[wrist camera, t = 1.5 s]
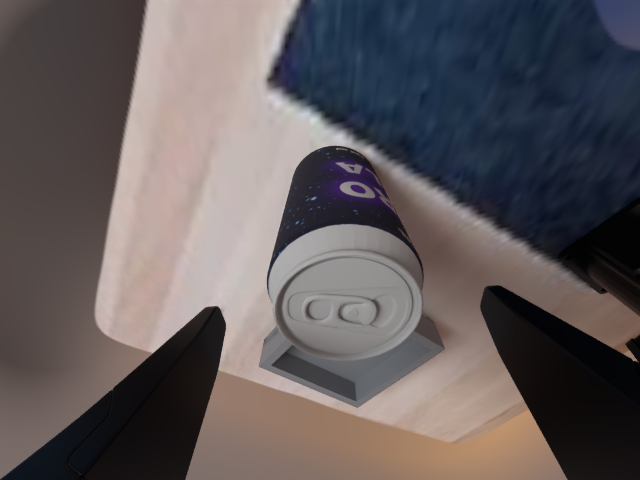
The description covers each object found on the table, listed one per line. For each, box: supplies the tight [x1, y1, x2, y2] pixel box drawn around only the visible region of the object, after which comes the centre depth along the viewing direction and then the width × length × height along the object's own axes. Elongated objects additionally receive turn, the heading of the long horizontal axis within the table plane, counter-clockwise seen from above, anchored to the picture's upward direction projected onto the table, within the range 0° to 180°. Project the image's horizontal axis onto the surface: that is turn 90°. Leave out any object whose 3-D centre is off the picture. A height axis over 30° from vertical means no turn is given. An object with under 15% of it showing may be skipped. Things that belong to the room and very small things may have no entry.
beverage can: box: [267, 146, 424, 361], centre depth 14 cm, size 6×6×12 cm
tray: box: [259, 315, 445, 408], centre depth 26 cm, size 12×12×3 cm
